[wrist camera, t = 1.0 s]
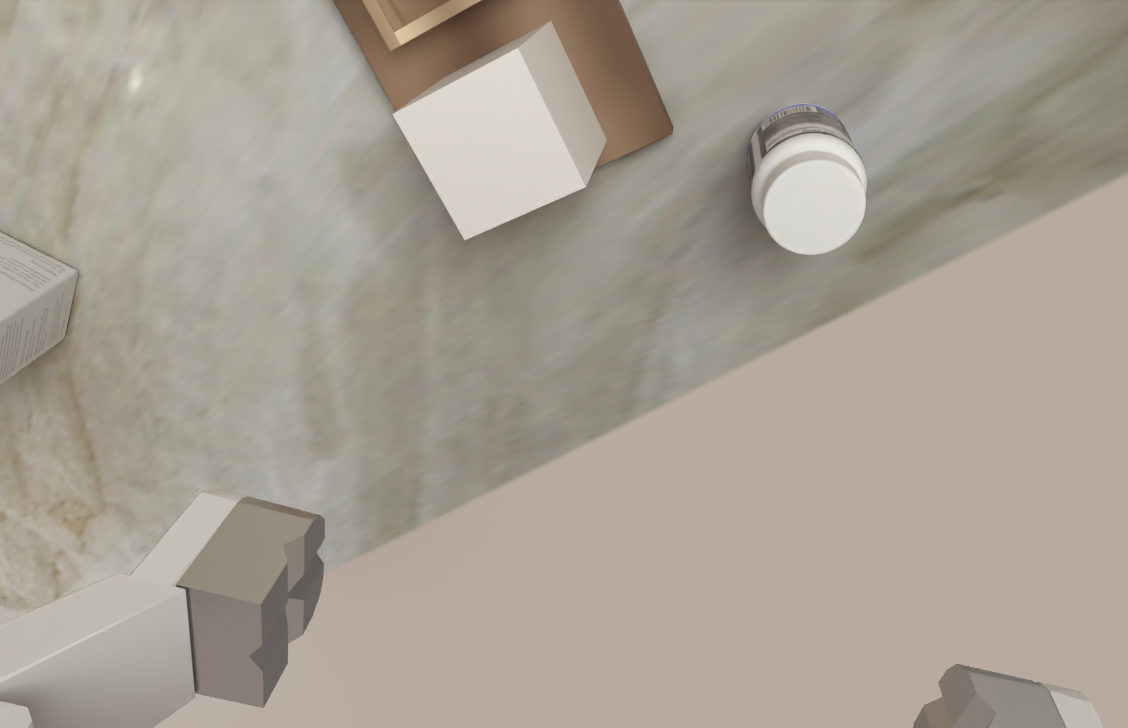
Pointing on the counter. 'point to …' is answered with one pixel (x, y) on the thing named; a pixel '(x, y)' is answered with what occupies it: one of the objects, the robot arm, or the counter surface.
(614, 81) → the board
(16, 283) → the skincare box
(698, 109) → the counter surface
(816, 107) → the pill bottle
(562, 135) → the block
